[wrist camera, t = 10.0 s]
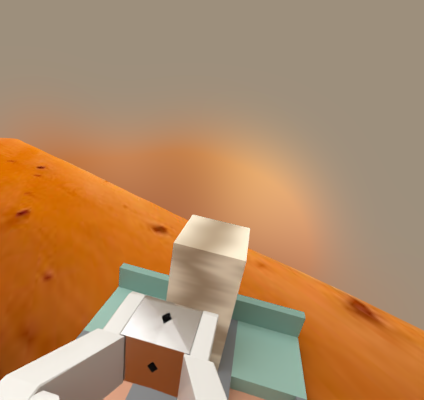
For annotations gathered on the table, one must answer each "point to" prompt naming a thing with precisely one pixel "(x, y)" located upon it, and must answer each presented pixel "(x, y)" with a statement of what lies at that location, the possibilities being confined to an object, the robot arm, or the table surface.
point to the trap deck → (227, 344)
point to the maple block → (209, 271)
